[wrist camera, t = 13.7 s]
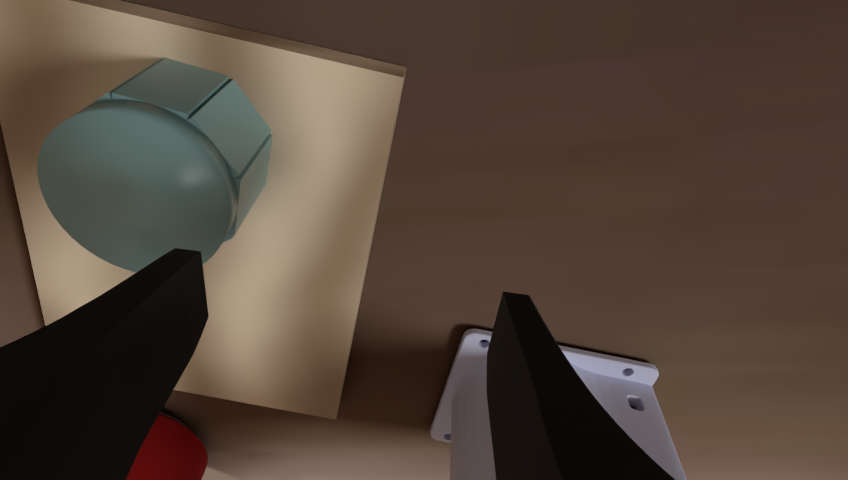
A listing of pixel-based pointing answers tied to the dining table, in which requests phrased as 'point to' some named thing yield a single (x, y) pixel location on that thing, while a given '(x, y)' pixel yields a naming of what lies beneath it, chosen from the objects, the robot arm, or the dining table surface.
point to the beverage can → (169, 453)
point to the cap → (157, 165)
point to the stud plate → (270, 214)
